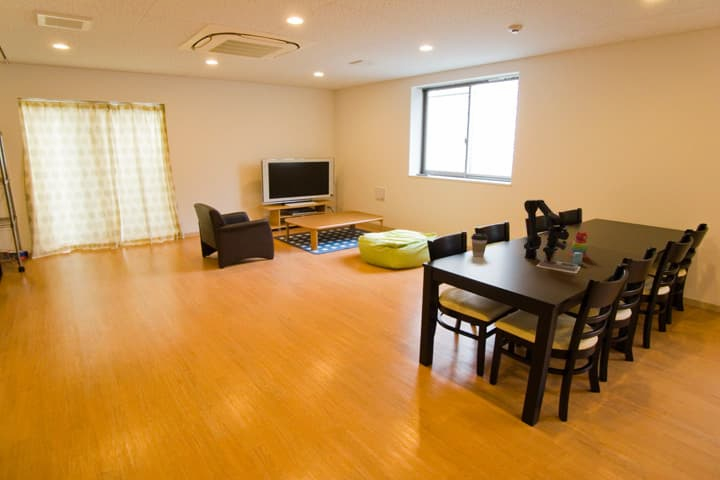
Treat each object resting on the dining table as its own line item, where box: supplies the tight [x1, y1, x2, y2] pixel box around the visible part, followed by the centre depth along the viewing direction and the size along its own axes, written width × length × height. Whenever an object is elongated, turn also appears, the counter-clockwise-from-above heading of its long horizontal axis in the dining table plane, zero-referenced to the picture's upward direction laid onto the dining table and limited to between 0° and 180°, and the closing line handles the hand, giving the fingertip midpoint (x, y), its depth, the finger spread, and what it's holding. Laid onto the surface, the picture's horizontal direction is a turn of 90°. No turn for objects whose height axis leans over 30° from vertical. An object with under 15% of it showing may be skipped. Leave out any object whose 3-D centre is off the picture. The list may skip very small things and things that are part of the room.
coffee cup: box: [470, 232, 489, 258], centre depth 279 cm, size 11×11×15 cm
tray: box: [536, 258, 581, 274], centre depth 256 cm, size 23×14×2 cm, turn 53°
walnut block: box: [544, 251, 557, 264], centre depth 258 cm, size 5×5×7 cm
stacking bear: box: [570, 230, 590, 260], centre depth 277 cm, size 11×10×18 cm
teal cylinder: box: [572, 252, 583, 266], centre depth 263 cm, size 5×5×7 cm
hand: (550, 260), depth 259 cm, fingers closed on walnut block, 5 cm apart
